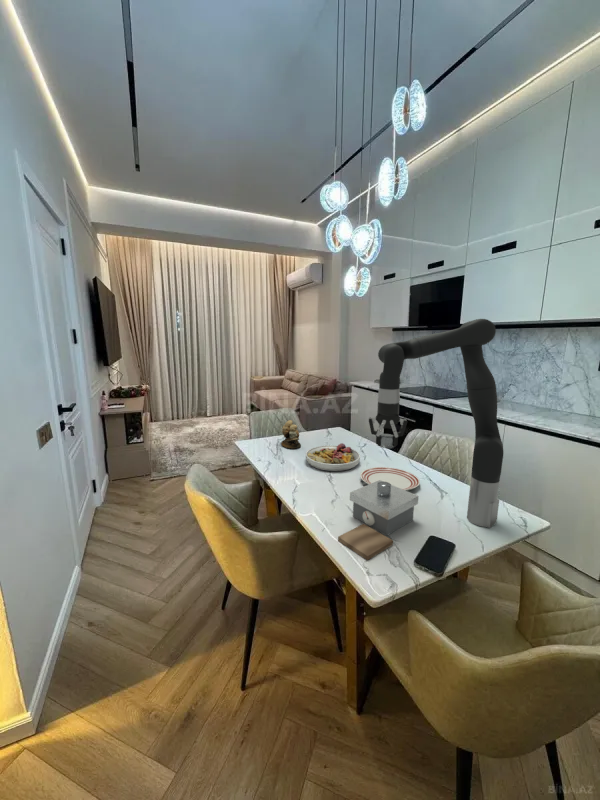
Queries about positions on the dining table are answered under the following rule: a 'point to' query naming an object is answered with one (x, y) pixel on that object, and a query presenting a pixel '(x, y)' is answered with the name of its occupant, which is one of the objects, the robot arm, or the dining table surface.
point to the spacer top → (386, 441)
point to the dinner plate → (390, 477)
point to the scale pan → (384, 500)
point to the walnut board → (365, 541)
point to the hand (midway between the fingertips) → (386, 445)
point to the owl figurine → (290, 436)
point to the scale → (382, 519)
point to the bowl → (333, 457)
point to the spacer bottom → (383, 489)
